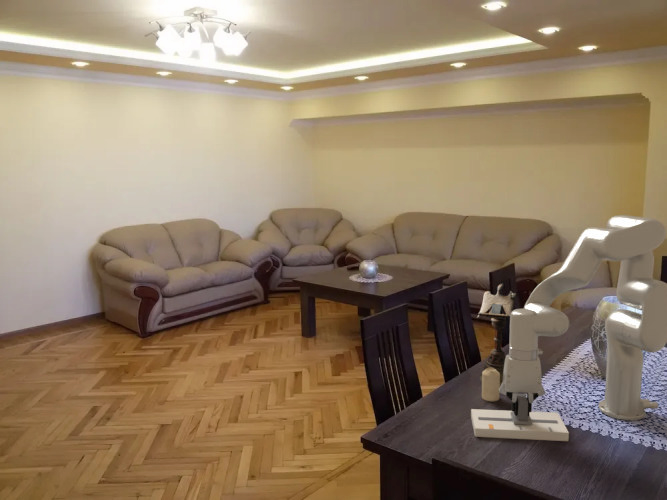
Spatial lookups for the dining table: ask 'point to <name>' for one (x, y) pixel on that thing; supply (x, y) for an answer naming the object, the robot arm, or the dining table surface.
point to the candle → (490, 384)
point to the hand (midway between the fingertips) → (521, 413)
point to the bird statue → (497, 325)
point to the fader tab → (521, 411)
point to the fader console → (518, 425)
